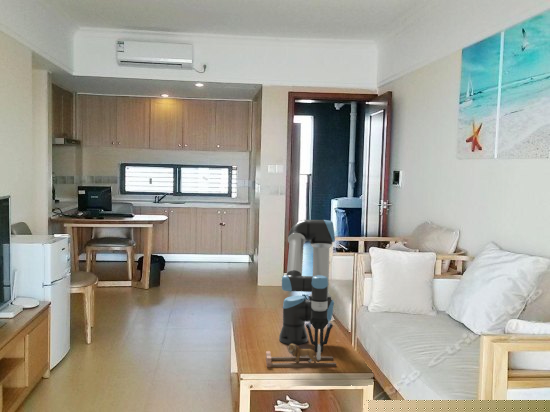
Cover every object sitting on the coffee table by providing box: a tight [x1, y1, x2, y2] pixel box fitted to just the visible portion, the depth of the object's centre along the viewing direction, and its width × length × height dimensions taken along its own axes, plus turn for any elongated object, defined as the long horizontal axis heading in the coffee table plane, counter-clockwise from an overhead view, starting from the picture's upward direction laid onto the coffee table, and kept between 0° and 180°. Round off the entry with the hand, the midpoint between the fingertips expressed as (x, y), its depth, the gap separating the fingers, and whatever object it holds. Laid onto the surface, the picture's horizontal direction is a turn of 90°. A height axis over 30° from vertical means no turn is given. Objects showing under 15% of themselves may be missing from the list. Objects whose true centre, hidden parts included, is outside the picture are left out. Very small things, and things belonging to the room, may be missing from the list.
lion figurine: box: [287, 344, 320, 363], centre depth 249 cm, size 15×5×9 cm, turn 90°
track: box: [265, 350, 337, 368], centre depth 249 cm, size 10×32×4 cm, turn 94°
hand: (318, 358), depth 250 cm, fingers closed
